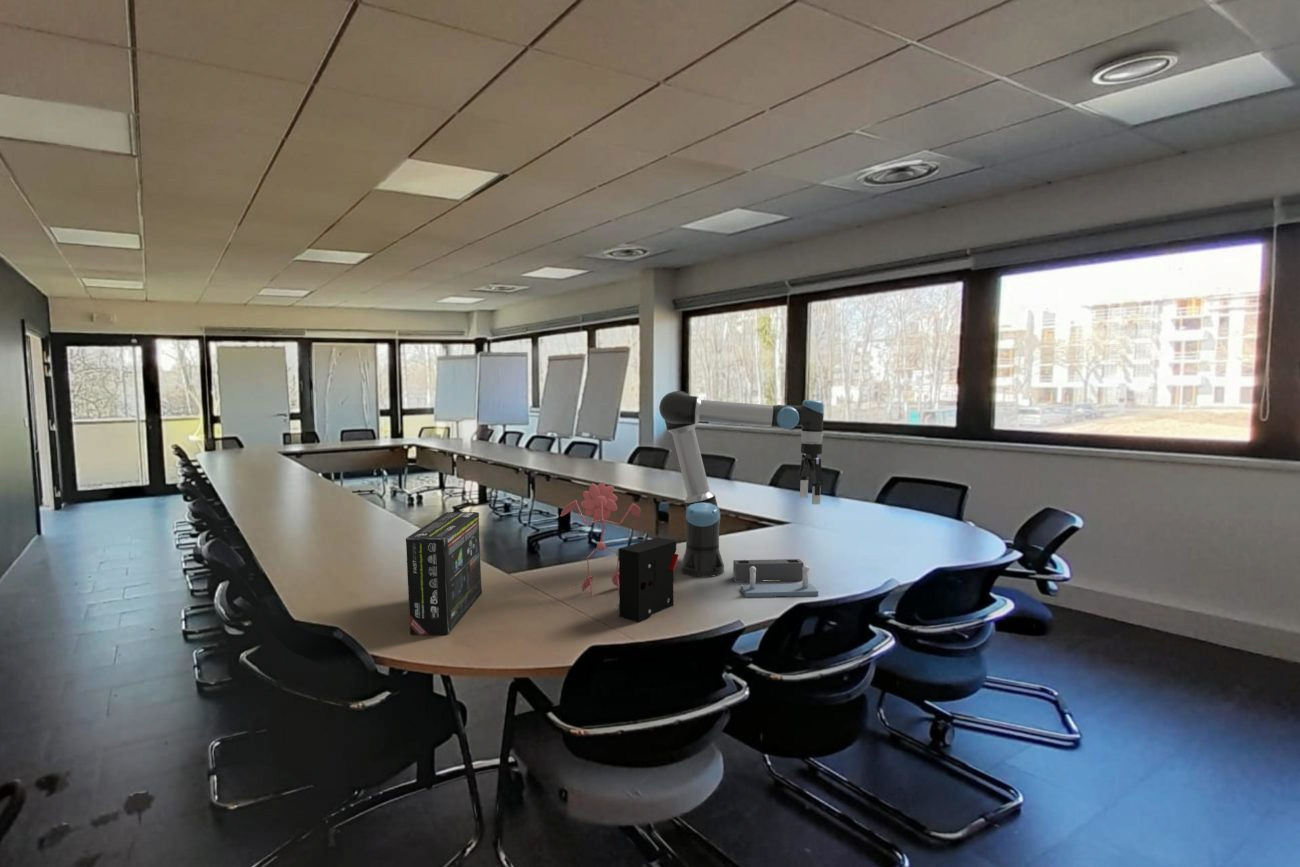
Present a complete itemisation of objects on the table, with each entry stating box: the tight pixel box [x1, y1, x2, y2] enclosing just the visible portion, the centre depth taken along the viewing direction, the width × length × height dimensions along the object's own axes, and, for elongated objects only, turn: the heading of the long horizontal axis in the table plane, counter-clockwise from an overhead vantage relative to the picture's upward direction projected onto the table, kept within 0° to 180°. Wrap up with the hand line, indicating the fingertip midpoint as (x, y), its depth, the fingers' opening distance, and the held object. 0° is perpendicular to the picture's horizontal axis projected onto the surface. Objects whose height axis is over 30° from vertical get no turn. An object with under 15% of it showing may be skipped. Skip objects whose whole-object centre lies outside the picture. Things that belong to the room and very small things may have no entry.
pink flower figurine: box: [560, 482, 642, 597], centre depth 218 cm, size 15×26×35 cm, turn 110°
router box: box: [405, 511, 483, 636], centre depth 196 cm, size 36×11×27 cm, turn 0°
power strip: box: [732, 558, 805, 582], centre depth 229 cm, size 23×5×6 cm, turn 93°
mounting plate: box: [740, 564, 819, 598], centre depth 214 cm, size 23×8×9 cm, turn 93°
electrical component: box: [615, 537, 679, 623], centre depth 198 cm, size 18×10×20 cm, turn 141°
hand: (809, 500), depth 246 cm, fingers open, 13 cm apart
